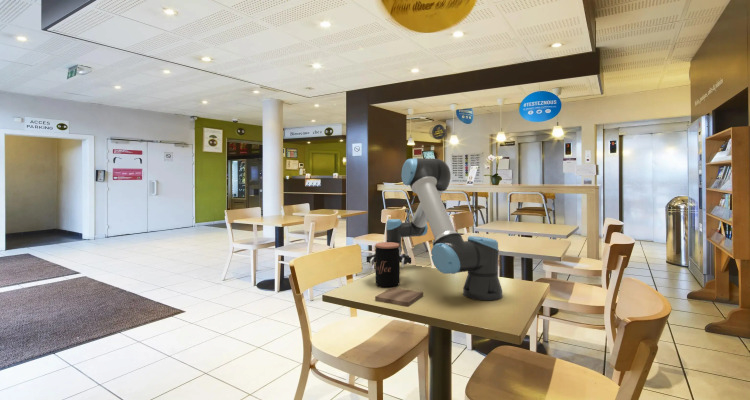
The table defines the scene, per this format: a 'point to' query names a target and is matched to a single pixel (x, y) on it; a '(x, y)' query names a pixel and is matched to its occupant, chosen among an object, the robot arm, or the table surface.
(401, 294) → the walnut board
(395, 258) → the coffee jar
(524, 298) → the table surface
